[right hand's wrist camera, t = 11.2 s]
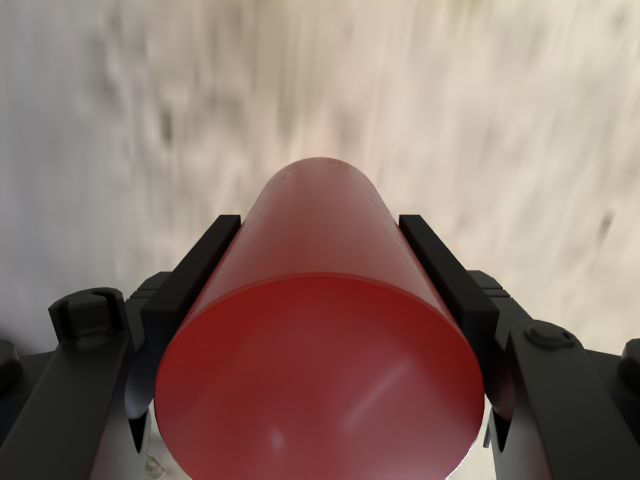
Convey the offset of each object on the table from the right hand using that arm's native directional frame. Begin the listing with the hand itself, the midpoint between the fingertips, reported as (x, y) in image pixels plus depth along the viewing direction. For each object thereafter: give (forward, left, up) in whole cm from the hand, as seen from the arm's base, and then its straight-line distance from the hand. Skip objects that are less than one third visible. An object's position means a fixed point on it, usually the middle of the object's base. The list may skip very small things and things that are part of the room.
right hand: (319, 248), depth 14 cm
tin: (0, 0, -3) cm, 3 cm away
